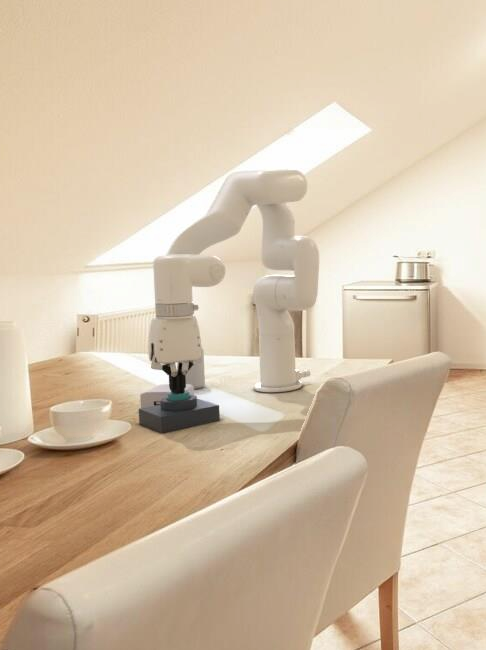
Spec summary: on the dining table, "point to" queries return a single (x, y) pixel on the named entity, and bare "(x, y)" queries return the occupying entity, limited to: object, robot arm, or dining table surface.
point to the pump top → (178, 396)
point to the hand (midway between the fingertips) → (177, 392)
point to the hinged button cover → (159, 395)
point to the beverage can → (196, 374)
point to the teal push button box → (178, 414)
